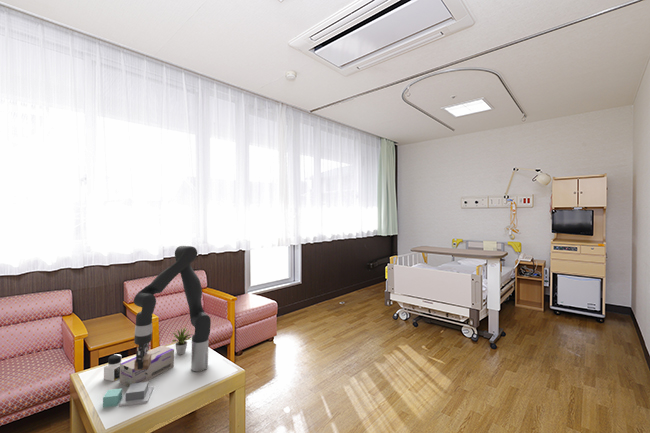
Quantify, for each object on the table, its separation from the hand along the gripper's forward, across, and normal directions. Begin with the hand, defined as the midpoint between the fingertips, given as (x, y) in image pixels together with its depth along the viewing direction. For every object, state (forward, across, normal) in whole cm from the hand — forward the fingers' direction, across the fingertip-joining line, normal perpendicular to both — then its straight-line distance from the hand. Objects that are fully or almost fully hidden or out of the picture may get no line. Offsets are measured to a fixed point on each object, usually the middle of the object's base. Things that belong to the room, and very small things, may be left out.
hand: (142, 365), depth 152 cm
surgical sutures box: (+16, +22, +2) cm, 27 cm away
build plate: (+16, 0, +2) cm, 16 cm away
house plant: (+16, +43, -12) cm, 48 cm away
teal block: (+17, -1, +12) cm, 20 cm away
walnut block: (+1, 0, 0) cm, 1 cm away
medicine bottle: (+16, +23, +18) cm, 33 cm away
